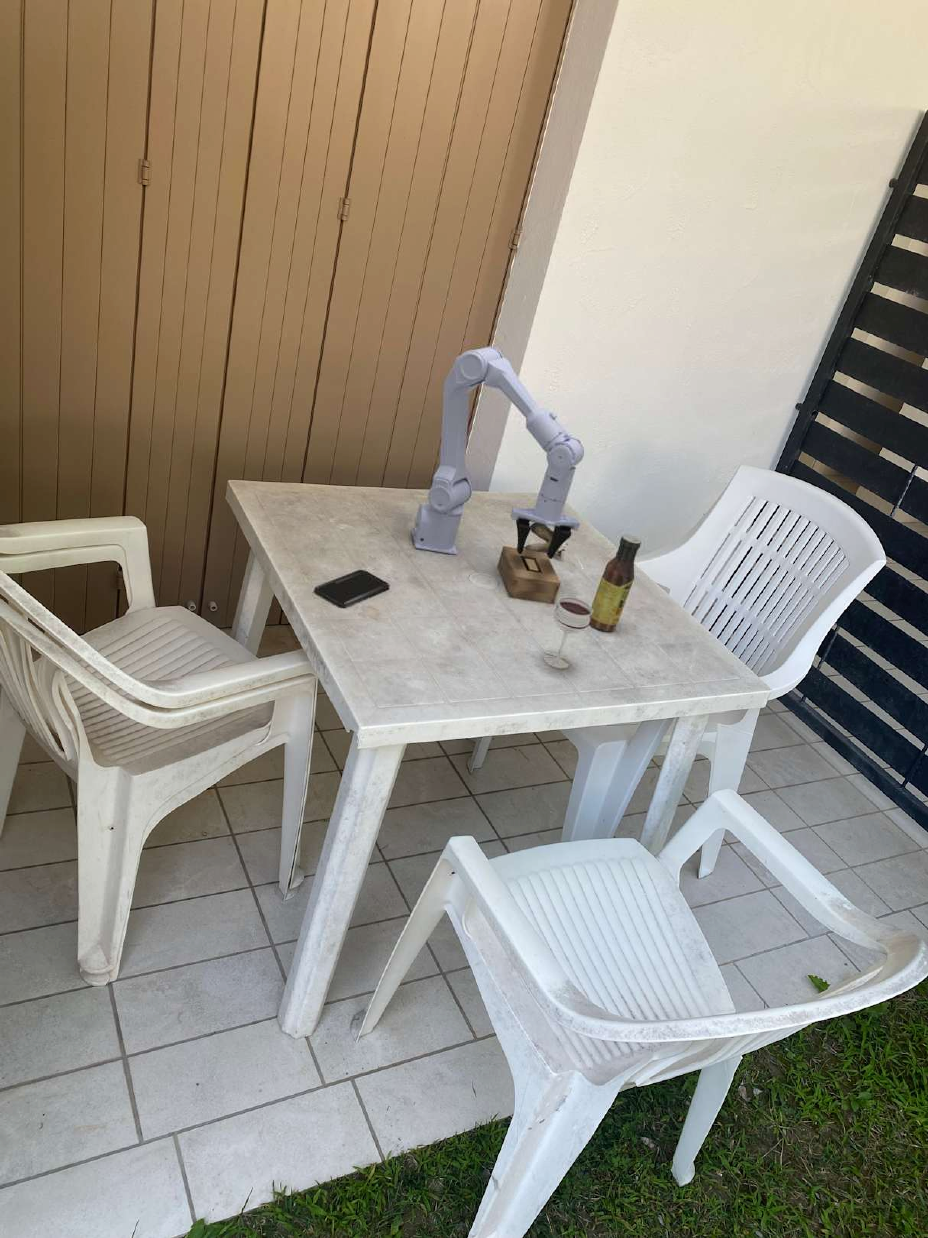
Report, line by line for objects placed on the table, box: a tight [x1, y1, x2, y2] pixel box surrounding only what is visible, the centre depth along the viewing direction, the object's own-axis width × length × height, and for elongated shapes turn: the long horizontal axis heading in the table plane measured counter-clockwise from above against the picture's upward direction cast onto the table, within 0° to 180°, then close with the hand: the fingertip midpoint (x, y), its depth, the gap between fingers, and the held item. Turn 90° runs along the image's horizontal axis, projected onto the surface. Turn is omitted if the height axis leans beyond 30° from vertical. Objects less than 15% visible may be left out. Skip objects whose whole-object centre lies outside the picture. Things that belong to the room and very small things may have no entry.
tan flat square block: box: [524, 559, 539, 572], centre depth 200 cm, size 2×5×5 cm, turn 9°
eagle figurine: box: [524, 522, 569, 557], centre depth 217 cm, size 8×7×9 cm
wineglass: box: [543, 596, 593, 669], centre depth 172 cm, size 7×7×12 cm
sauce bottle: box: [589, 534, 642, 632], centre depth 188 cm, size 7×6×20 cm
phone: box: [313, 569, 391, 609], centre depth 180 cm, size 8×1×15 cm
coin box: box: [497, 545, 562, 605], centre depth 200 cm, size 10×14×5 cm
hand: (534, 554), depth 197 cm, fingers open, 6 cm apart
